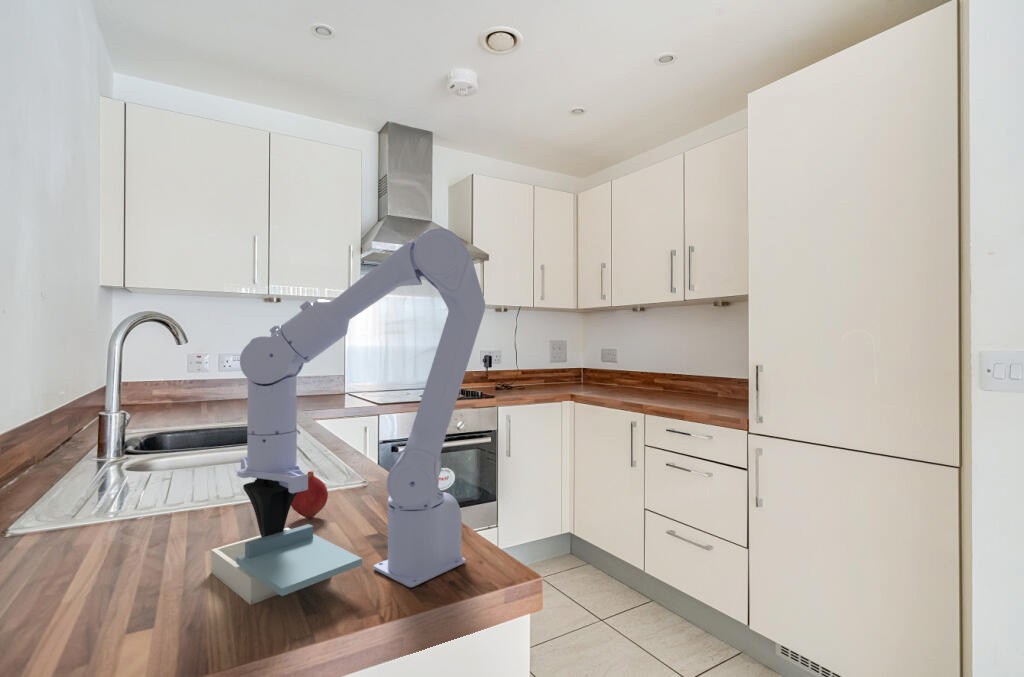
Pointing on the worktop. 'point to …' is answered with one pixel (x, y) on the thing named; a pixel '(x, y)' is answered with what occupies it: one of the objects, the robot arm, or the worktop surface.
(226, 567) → the box
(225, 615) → the worktop surface
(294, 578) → the lid
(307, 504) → the onion
